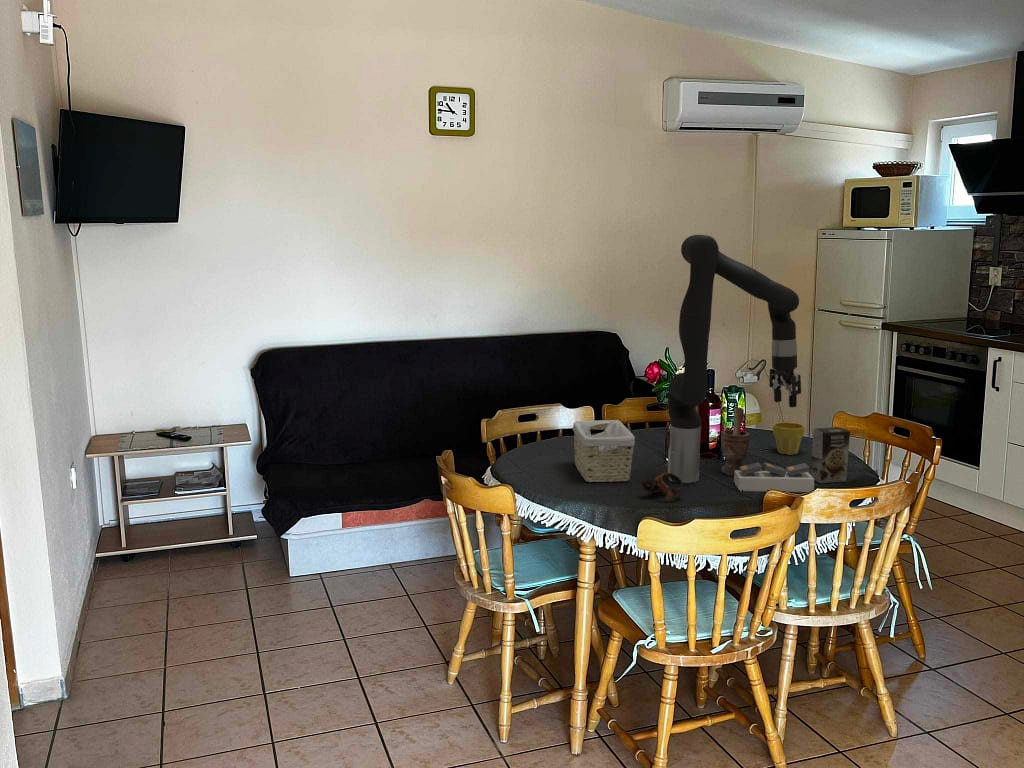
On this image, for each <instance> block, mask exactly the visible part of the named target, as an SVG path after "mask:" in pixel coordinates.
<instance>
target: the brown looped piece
mask: <svg viewBox="0 0 1024 768" xmlns="http://www.w3.org/2000/svg"><path fill="white" fill-rule="evenodd" d="M668 477H670V478H671V479H672V481H671V482H673V481H676V482H675V483H677V484H678V487H672V490H670V486H669V485H668V484H666V483H665V481H664V480H667V479H669V478H668ZM647 484H649V485H647ZM640 485H641V487H642V489H643V490H644V491H645V492H646V493H648V495H650V496H652V495H653V493H654V492H662V493H665V494H666V496H665V497H664V501H666V502H667V503H669V502H671V501H672V499H676V498H678V497H679V496H681V495H682V492H683V485H684V483H682V481H681V479H680V478H679V477H678V476H676V475H674V474H672V473H668V471H667V472H662V473H660V475H657V476H655V477H654V478H652V477H644V478H643V479H642V480H641V483H640Z"/></svg>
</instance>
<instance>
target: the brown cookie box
mask: <svg viewBox="0 0 1024 768" xmlns="http://www.w3.org/2000/svg"><path fill="white" fill-rule="evenodd" d="M812 436H813V437H812V448H811V460H810V472H809V474H810V475H811V476H812V477H813V478H814V481H816V482H818V483H819V484H829V483H839V482H841V483H842V482H846V481H847V475H848V474H847V471H848V461H849V449H850V447H849V446H850V438H851V437H850V436H851V431H850V430H847V429H844V428H841V427H839V426H838V427H837V426H836V427H819V428H816V427H815V428H813V435H812Z"/></svg>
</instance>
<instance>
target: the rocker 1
mask: <svg viewBox="0 0 1024 768" xmlns="http://www.w3.org/2000/svg"><path fill="white" fill-rule="evenodd" d="M762 466H763V465H762V464H760V462H754V463H750V464H746V465H742V466H740V467H739V469H740V472H741V473H742V475H747V474H751V473H755V472H759V471H764V470H763V467H762Z"/></svg>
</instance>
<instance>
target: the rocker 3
mask: <svg viewBox="0 0 1024 768" xmlns="http://www.w3.org/2000/svg"><path fill="white" fill-rule="evenodd" d="M785 471H786V472H787V473H788V474H789V475H790V476H793V475H797V474H801V473H805V472H808V473H810V471H811V468H810V466H809V465H808V464H807V463H805V462H803V463H799V464H794V465H791V466H786V467H785Z"/></svg>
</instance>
